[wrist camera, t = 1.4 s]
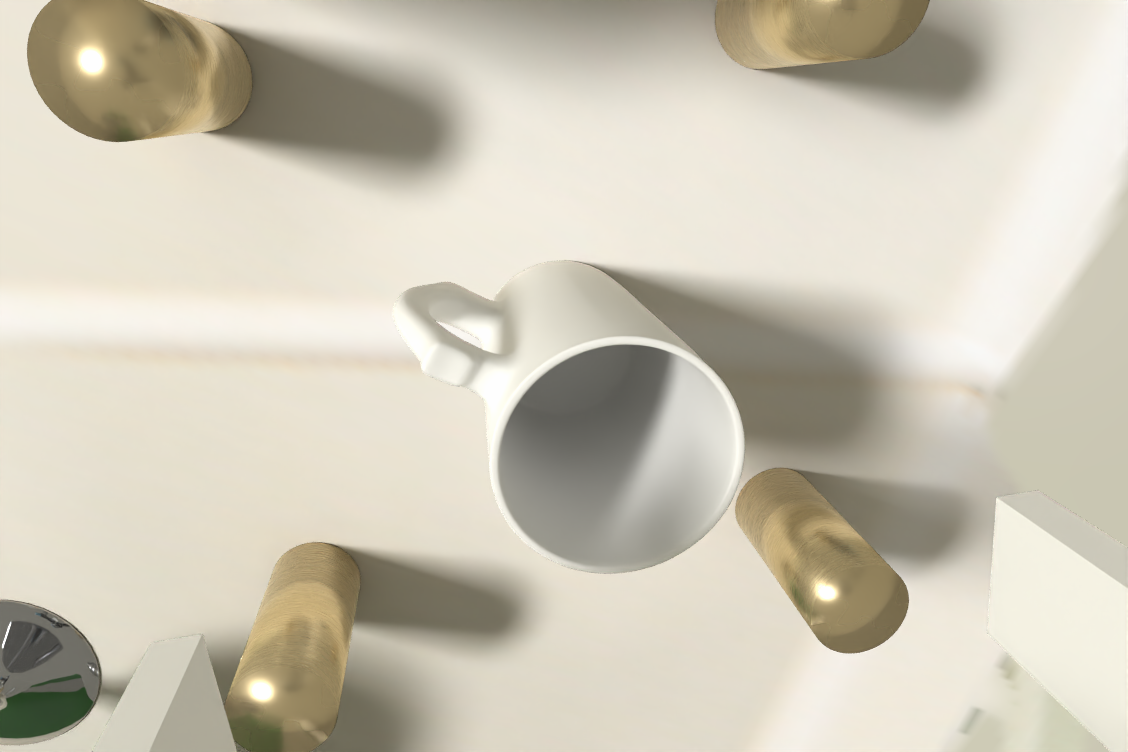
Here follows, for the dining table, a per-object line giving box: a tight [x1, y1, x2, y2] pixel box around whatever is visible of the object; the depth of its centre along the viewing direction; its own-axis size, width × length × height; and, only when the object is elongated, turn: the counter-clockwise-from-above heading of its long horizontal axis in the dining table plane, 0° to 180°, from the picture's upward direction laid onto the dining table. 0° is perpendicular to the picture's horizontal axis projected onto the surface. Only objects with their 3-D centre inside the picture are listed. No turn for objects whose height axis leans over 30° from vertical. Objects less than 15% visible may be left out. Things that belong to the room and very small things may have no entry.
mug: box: [392, 261, 745, 574], centre depth 27 cm, size 10×7×12 cm, turn 60°
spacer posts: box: [27, 0, 930, 752], centre depth 28 cm, size 24×24×8 cm
